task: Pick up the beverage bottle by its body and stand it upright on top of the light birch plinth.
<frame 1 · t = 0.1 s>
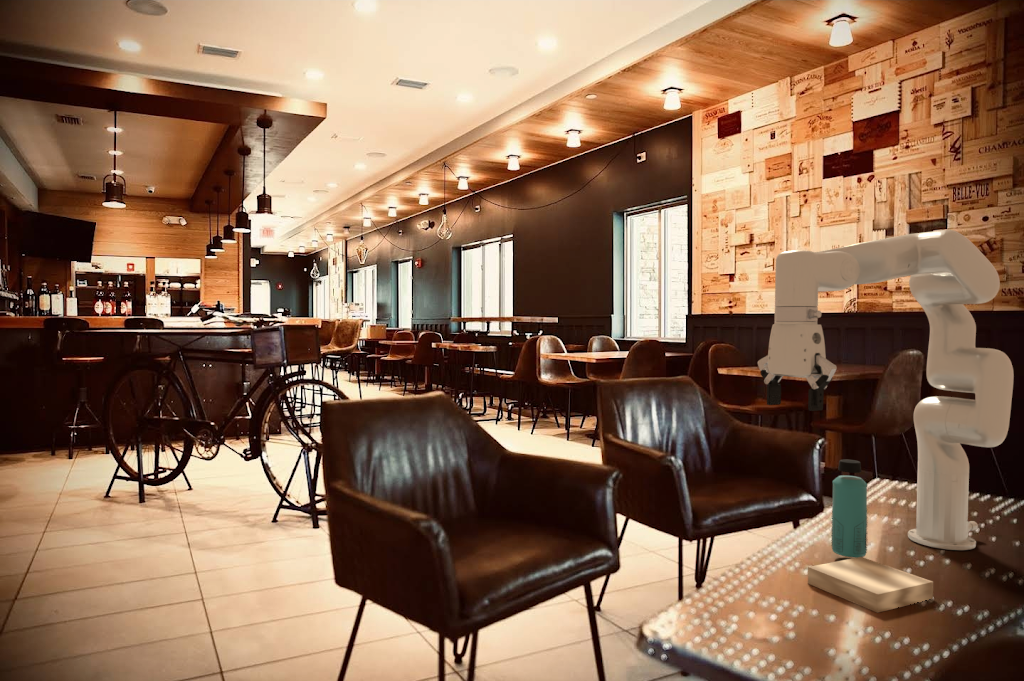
hand: (794, 407, 132), 31 cm above the table, fingers open, 9 cm apart
birch plinth: (868, 591, 123), on the table
beverage bottle: (848, 560, 139), on the table
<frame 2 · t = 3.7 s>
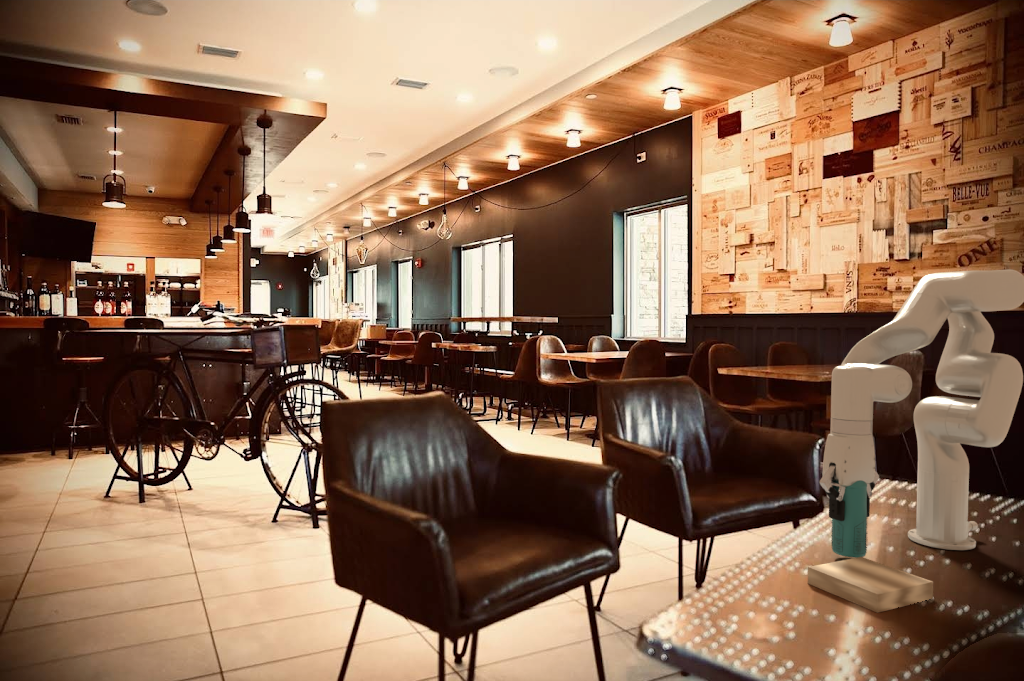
hand: (849, 516, 139), 9 cm above the table, fingers closed on beverage bottle, 6 cm apart
beverage bottle: (848, 560, 139), on the table, touching gripper
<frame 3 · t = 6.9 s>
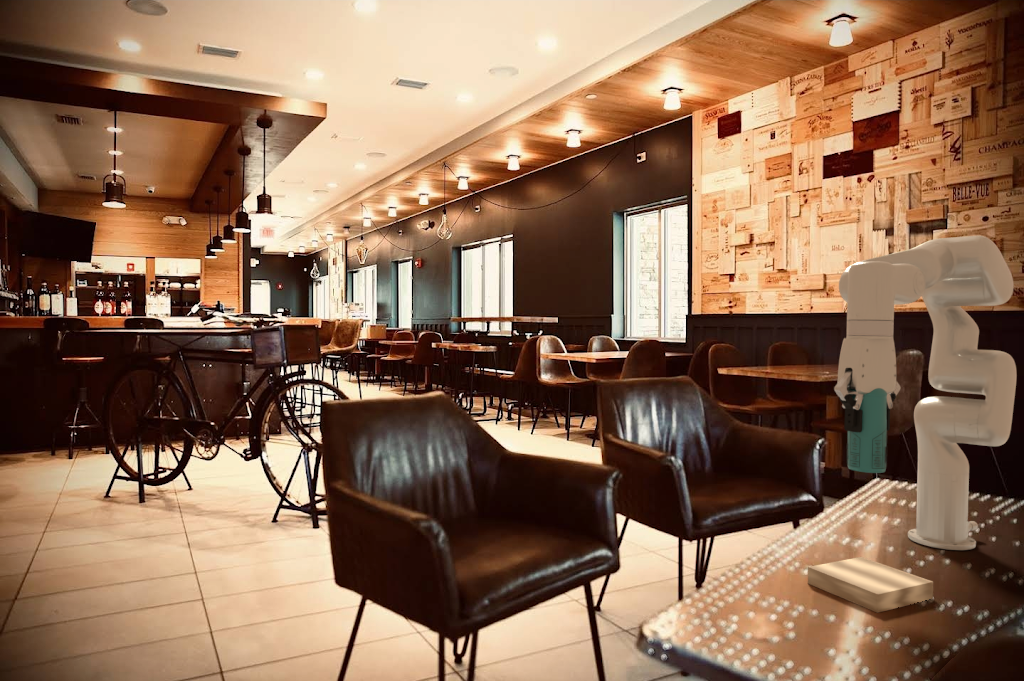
hand: (866, 429, 125), 28 cm above the table, fingers closed on beverage bottle, 6 cm apart
beverage bottle: (865, 478, 126), point 19 cm above the table, touching gripper
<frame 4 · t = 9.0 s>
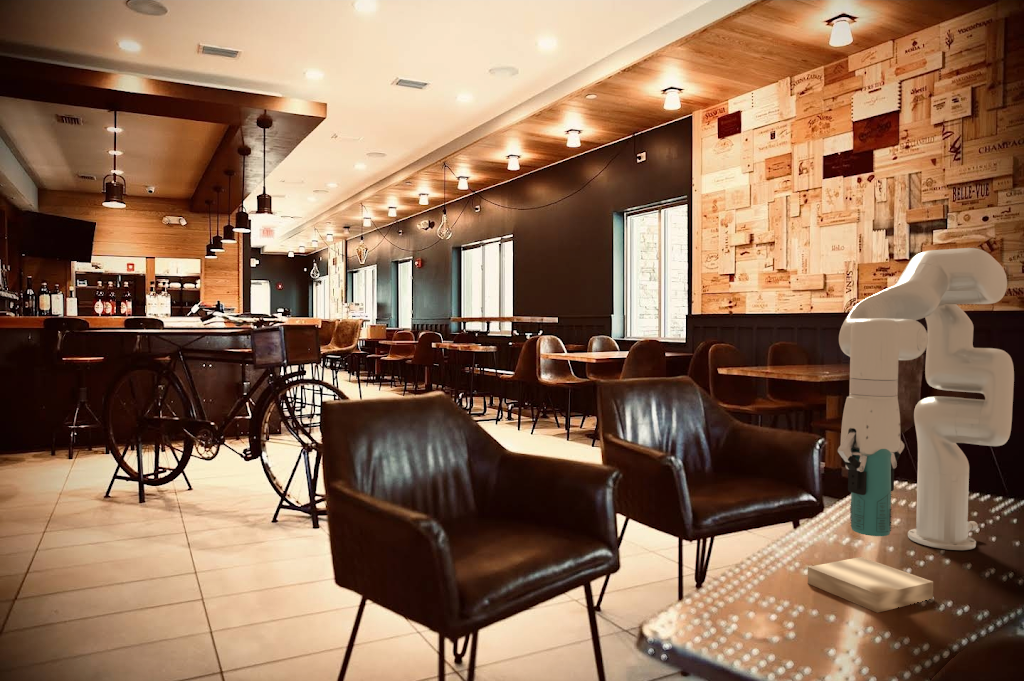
hand: (870, 490, 122), 18 cm above the table, fingers closed on beverage bottle, 6 cm apart
beverage bottle: (869, 540, 123), point 9 cm above the table, touching gripper
when the fingers open (13 cm above the table, at t = 10.5 s): beverage bottle drops 1 cm, resting on birch plinth.
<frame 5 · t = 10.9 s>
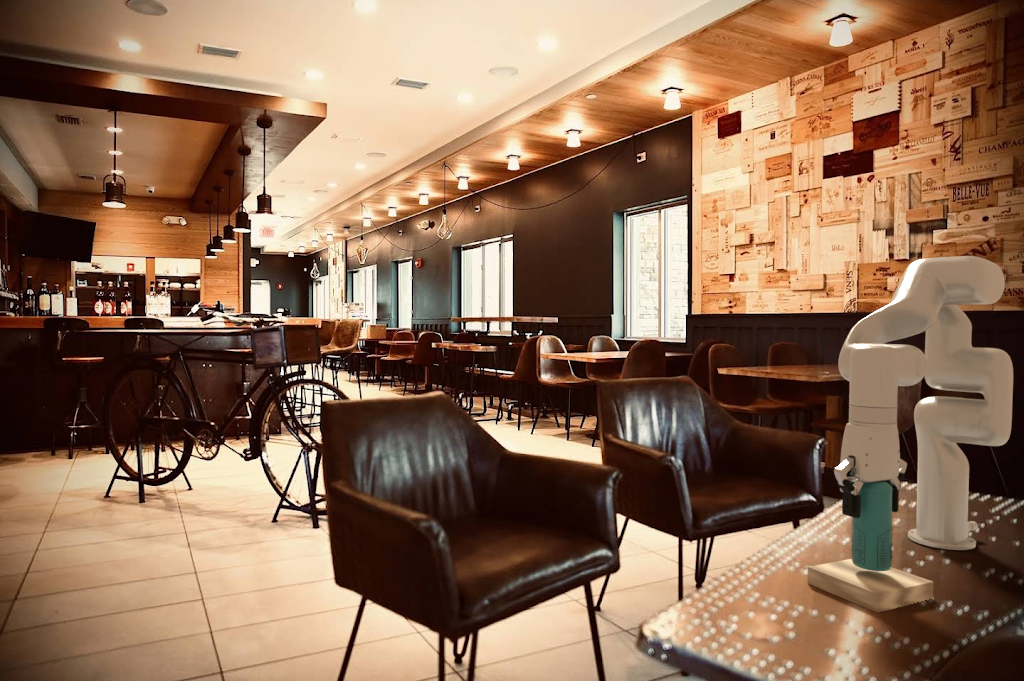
hand: (870, 513, 122), 14 cm above the table, fingers open, 9 cm apart
beverage bottle: (870, 574, 123), point 3 cm above the table, touching birch plinth
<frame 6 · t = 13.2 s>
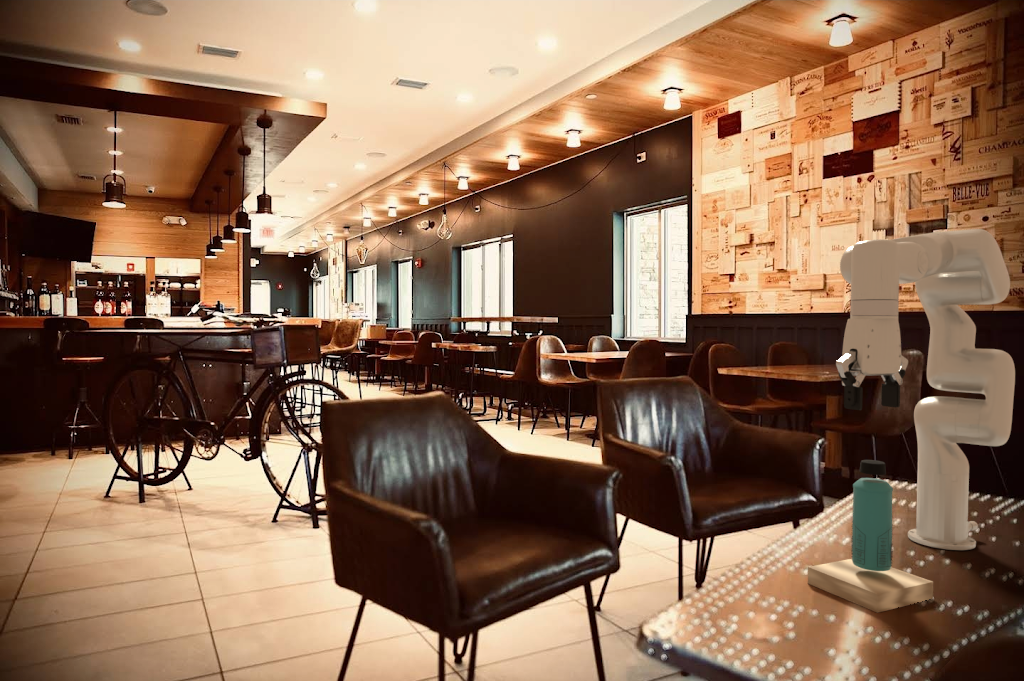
hand: (872, 407, 123), 32 cm above the table, fingers open, 9 cm apart
nothing on the table moved.
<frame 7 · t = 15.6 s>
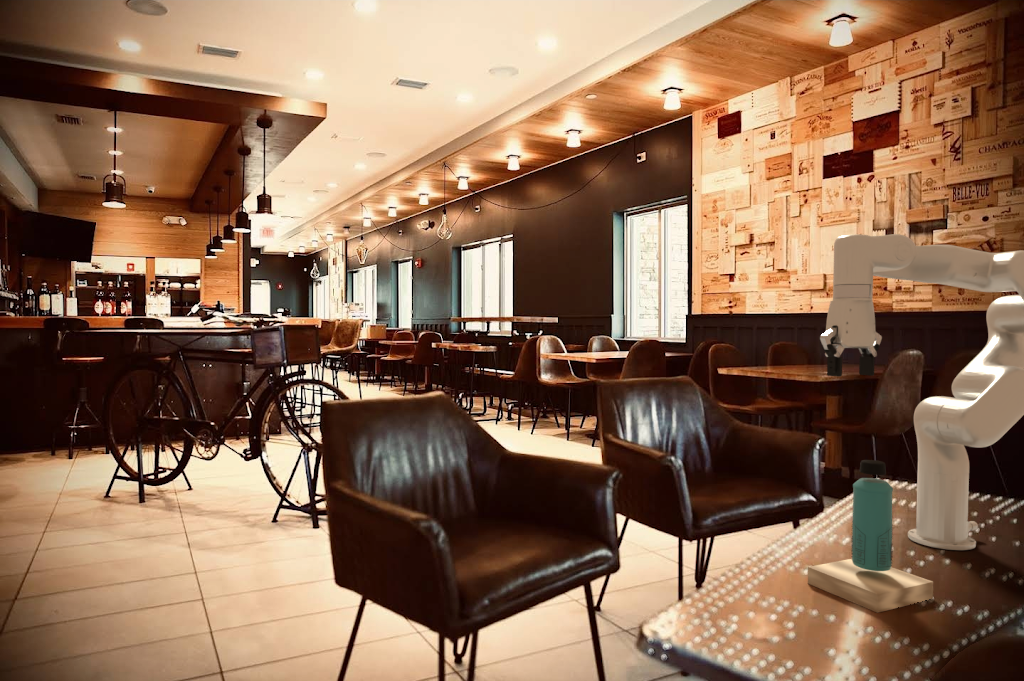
hand: (850, 375, 147), 36 cm above the table, fingers open, 9 cm apart
nothing on the table moved.
at the end: beverage bottle inside the target area on the birch plinth (0.6 cm from its centre), point 2.8 cm above the birch plinth's base; beverage bottle tilted 0°; the gripper is holding nothing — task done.
